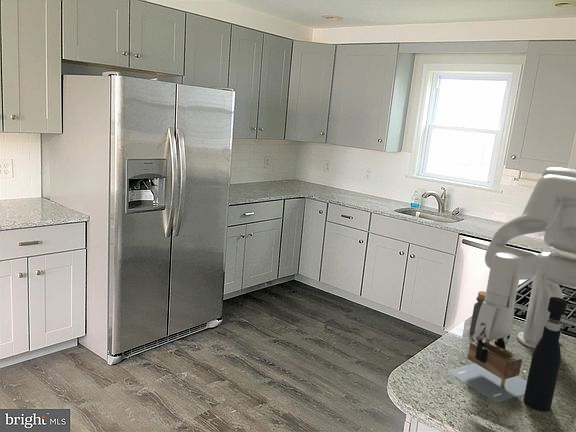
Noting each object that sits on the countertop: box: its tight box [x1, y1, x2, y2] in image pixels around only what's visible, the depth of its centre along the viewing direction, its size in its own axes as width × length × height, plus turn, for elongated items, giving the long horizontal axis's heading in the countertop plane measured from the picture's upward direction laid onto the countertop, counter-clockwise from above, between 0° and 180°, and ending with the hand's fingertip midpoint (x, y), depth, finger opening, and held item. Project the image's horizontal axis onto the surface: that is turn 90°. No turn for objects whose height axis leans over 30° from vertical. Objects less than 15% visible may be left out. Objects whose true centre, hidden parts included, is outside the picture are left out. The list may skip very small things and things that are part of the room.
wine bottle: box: [523, 297, 568, 412], centre depth 125 cm, size 6×6×30 cm
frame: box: [467, 339, 523, 380], centre depth 137 cm, size 6×12×5 cm, turn 29°
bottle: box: [469, 290, 486, 337], centre depth 169 cm, size 6×6×15 cm
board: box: [446, 362, 527, 404], centre depth 139 cm, size 18×17×4 cm
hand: (489, 357), depth 138 cm, fingers closed on frame, 6 cm apart
